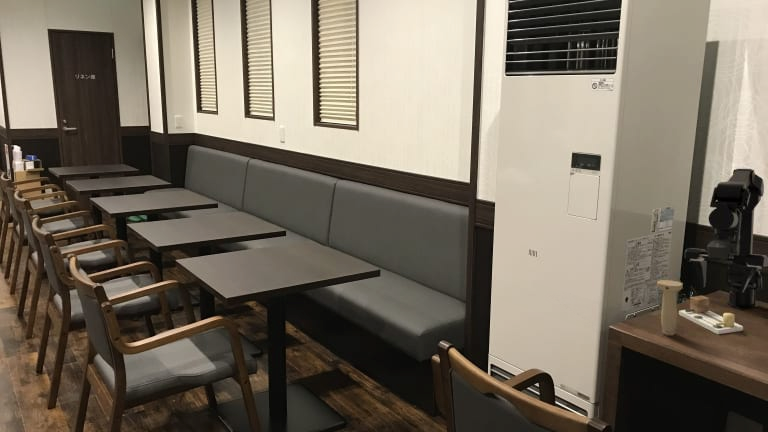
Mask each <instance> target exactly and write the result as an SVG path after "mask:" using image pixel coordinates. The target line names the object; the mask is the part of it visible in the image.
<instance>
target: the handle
mask: <svg viewBox="0 0 768 432" xmlns="http://www.w3.org/2000/svg"><path fill="white" fill-rule="evenodd" d="M656 283H657V288H659V289H660V290H661V291H662V304H661V310H660V311H661V315H660V320H661V322H660V323H661V324H660V325H661V328H662V329H661V332H662V334H663V335H665V336H674V335H675V334H676V328H677V320H678V314H677V313H678V311H677V310H678V309H677V307H678V306H677V292H680V291H681V290H683V289H684V288H683V282H680V281H675V280H671V279H670V280H669V279H660V280H657V282H656Z"/></svg>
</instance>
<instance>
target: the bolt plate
mask: <svg viewBox="0 0 768 432" xmlns="http://www.w3.org/2000/svg"><path fill="white" fill-rule="evenodd" d="M685 310H686V309H682V310H679V311H678V315H680V316H681V317H683V318H685V319H687V320H688V321H691V322H693V323H694V324H697V325H699V326H701V327H703V328H705V329H707V330H708V331H711V332H712V333H714V334H716V335H720V334H727V333H729V334H730V333H735V332H741V331H744V326H743V325H741V324H739V323H736V321H735V316H736V315H735V314H734V313H731V312H724V313H723V314H722V315H719V314H717V313H715V312H713V311H710V310H709V311H707V312H700V313H696V312H694V311H693V312H685Z"/></svg>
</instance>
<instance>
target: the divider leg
mask: <svg viewBox="0 0 768 432" xmlns="http://www.w3.org/2000/svg"><path fill="white" fill-rule="evenodd" d="M689 301H690V302H689V304H690V306H689V308H688V309H684V310H685V312H693V311H694V312H696V313H700V312H707V311H710V298H709V297H707V296H704V295H697V296H696V295H695V296H691V297H690V300H689Z"/></svg>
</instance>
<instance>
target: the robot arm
mask: <svg viewBox="0 0 768 432" xmlns="http://www.w3.org/2000/svg"><path fill="white" fill-rule="evenodd" d="M732 171H733V172H732V175H731V176H730V178H729V179H728V180H727V181H720V182H719V183H717V185H716V186H715V187H714V188H713V193H712V196H711V200H710V205H709V207H710V208H714V209H713V210H711V212H710V213H709V214H708V217H707V219H708V223H709V225H710V226H711V227H712V228H713V229H714V234H713V238H712V241H710V242H709V243H708V244H707V248H706V249H704V248H703V249H702V248H694V247H691V248H690V247H687V248H686V249H685V250H684V253H683V254H684V257H683V259H689V260H688V262H690V263H692V264H693V265H694V266H695V268H696V270H697V274H698V277H699V280H700V283H701V284H700V285H701V287H702V288H705V287H706V284H707V283H706V282H707V266H708V265H707V264H708V263H707V262H708V261H707V260H705V259H708V260H709V259H711V260H717V261H718V260H720V261H725V262H730V264H729V266H728V267H727V269H726V287H727V288H728V287H729V288H730V291H729V297H728V298H729V300H728V301H726V302H725V304H727V305H728V306H729V305H730V306H732V307H734V308H736V309H738V310H748V309H754V308H755V309H756V308H759V307H760V305H758V304H756V296H757V295H756V294H757V293H756V292H757V291H759V290H762V289H763V278H762V275H761V272H760V270H762V269H763V267H768V256H767V255H764V254H755V253H753V243H754V242H753V241H754V221H755V220H754V219H755V209H756V207H757V206H758V204H759V203H760V202H761V200H762V198H763V197H764V193H765V184H764V180H763V178H762V177H761V176H759V175H758V174H756V173H755V170H754V169H752V168H736V169H735V168H734V170H732Z"/></svg>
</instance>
